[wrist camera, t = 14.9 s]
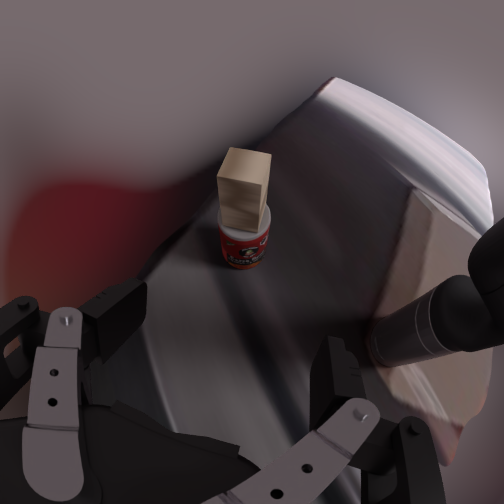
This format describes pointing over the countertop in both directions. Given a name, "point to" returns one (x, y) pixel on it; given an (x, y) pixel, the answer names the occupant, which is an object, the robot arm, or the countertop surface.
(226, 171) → the oak block
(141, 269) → the countertop surface
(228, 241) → the canned food
